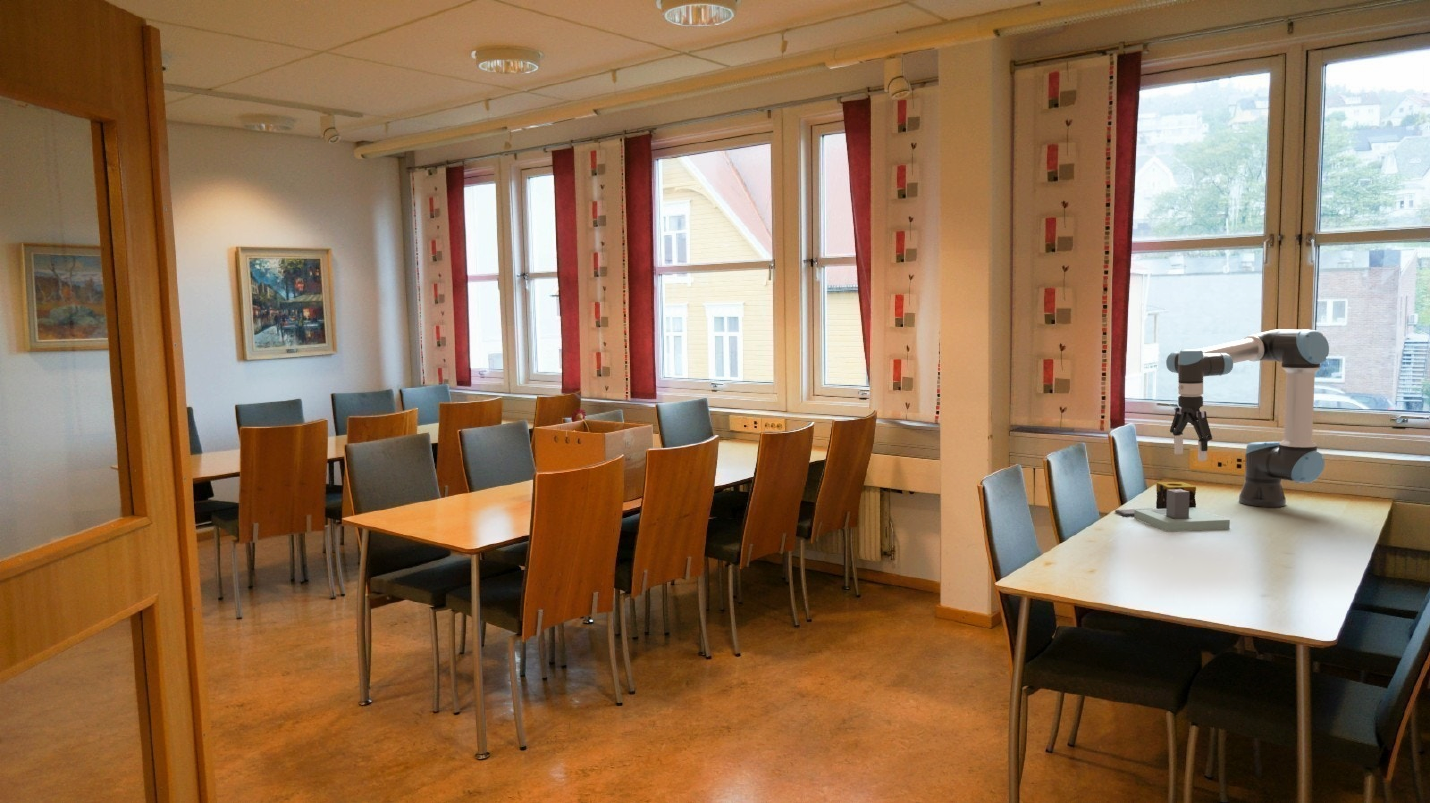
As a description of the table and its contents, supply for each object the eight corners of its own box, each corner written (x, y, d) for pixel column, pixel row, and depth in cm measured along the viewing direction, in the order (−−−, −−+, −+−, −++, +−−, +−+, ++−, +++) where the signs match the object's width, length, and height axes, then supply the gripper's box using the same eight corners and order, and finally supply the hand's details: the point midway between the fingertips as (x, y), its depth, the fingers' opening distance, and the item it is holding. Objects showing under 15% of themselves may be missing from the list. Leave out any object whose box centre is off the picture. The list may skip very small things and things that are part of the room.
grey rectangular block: (1179, 523, 324) (1181, 488, 323) (1188, 527, 319) (1189, 491, 318) (1166, 524, 324) (1166, 489, 323) (1174, 527, 319) (1175, 491, 318)
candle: (1196, 514, 338) (1197, 486, 337) (1167, 514, 339) (1168, 487, 338) (1183, 508, 348) (1183, 481, 347) (1155, 508, 349) (1156, 481, 348)
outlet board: (1193, 515, 336) (1194, 507, 335) (1229, 528, 316) (1229, 519, 316) (1134, 518, 334) (1134, 509, 333) (1166, 531, 314) (1166, 522, 314)
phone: (1152, 511, 344) (1152, 508, 344) (1163, 515, 337) (1163, 512, 337) (1115, 512, 343) (1115, 509, 343) (1125, 516, 336) (1125, 513, 336)
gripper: (1159, 392, 333) (1159, 452, 336) (1202, 399, 309) (1202, 463, 311) (1179, 391, 334) (1179, 450, 336) (1224, 398, 309) (1223, 462, 312)
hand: (1190, 457), depth 324 cm, fingers open, 13 cm apart
